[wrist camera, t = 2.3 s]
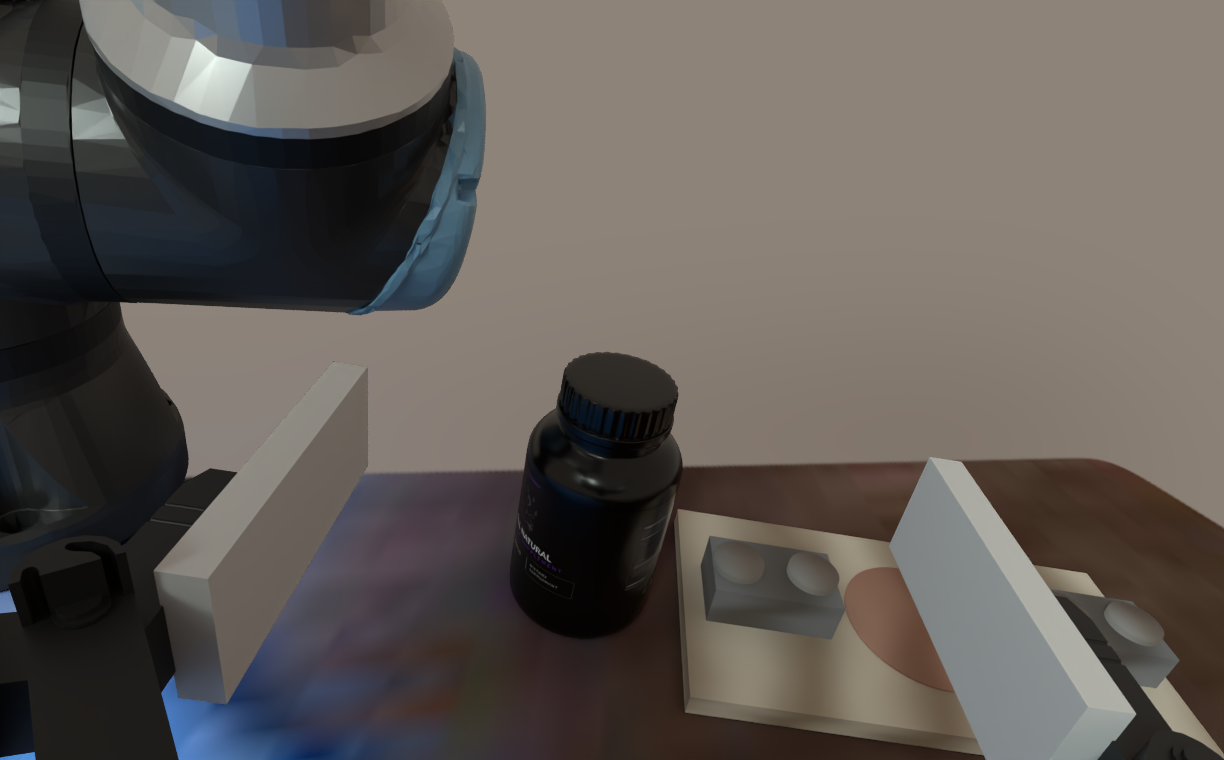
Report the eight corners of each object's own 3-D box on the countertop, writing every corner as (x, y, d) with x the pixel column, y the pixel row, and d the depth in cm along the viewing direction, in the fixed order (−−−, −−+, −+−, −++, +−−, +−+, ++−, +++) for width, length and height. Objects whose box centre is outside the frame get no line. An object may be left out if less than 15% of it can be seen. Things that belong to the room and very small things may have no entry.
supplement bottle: (481, 608, 32) (504, 385, 27) (545, 522, 38) (577, 324, 32) (618, 669, 31) (675, 445, 25) (664, 570, 37) (719, 370, 31)
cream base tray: (684, 712, 29) (703, 658, 28) (673, 522, 40) (687, 474, 38) (1227, 790, 31) (1275, 742, 29) (1078, 585, 41) (1107, 542, 39)
